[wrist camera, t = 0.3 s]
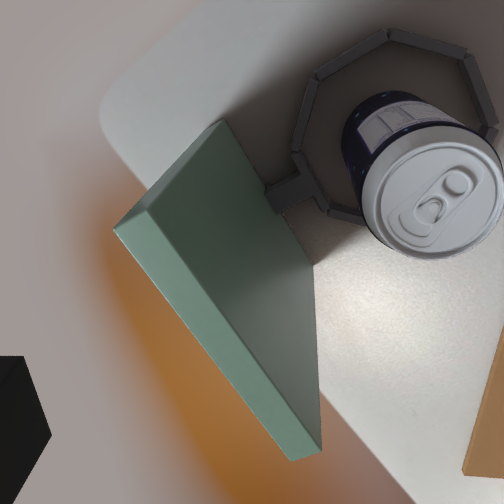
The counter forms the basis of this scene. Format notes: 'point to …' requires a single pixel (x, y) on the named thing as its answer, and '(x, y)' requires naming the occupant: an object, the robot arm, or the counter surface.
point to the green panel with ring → (256, 256)
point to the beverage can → (421, 176)
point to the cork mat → (489, 425)
